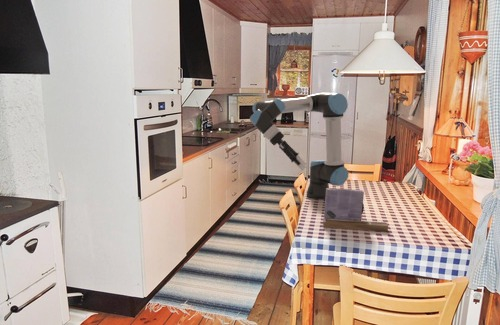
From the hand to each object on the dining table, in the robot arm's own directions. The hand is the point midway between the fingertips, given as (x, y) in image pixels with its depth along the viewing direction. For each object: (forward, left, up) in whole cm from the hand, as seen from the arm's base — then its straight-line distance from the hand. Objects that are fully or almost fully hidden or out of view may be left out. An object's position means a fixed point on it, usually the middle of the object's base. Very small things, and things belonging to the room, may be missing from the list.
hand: (304, 167), depth 193 cm
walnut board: (+13, +26, -27) cm, 39 cm away
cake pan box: (+7, +21, -27) cm, 35 cm away
